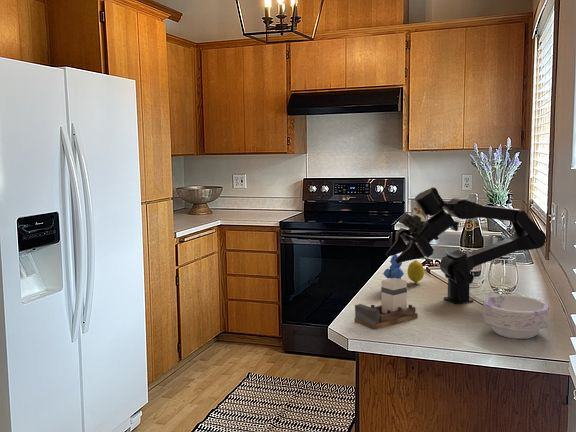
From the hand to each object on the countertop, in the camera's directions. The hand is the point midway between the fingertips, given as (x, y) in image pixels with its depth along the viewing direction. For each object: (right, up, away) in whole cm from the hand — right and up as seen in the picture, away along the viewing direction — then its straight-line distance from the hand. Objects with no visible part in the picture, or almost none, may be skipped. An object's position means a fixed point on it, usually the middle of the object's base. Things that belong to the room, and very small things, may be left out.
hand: (391, 258), depth 167 cm
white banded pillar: (-1, -14, -11) cm, 18 cm away
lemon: (+13, -11, +27) cm, 32 cm away
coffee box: (+44, +6, +152) cm, 158 cm away
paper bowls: (+26, -17, -25) cm, 40 cm away
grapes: (+4, -12, +17) cm, 22 cm away
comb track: (-4, -16, -13) cm, 21 cm away
